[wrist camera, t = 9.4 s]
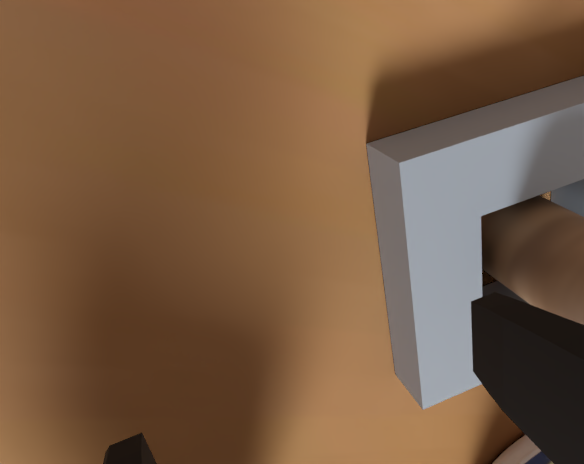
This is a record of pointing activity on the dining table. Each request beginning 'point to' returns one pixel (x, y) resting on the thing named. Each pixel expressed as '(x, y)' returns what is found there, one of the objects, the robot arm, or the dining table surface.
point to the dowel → (537, 254)
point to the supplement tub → (523, 454)
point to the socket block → (463, 219)
